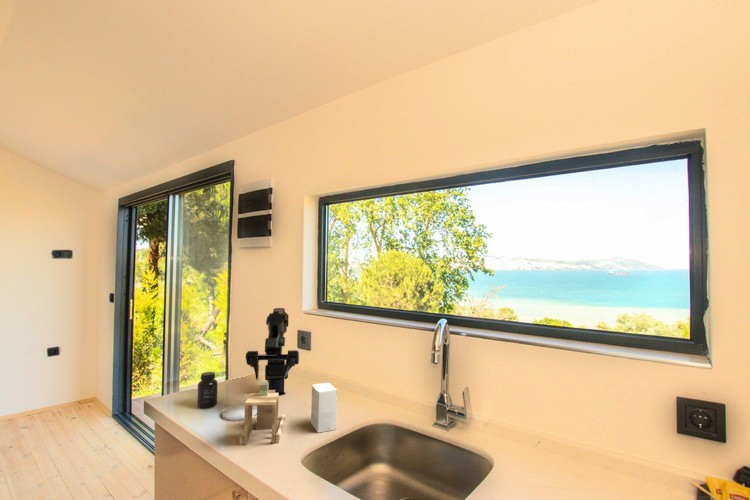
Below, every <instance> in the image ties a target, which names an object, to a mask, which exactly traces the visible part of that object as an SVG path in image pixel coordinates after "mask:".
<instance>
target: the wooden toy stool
mask: <svg viewBox="0 0 750 500" xmlns="http://www.w3.org/2000/svg"><path fill="white" fill-rule="evenodd" d="M258 387H259V388H258V389H259V390H258V391H259V392H258V393H254V392H253V393H251V392H250V393H249V395H248V396H247V399H246V400H245V402H244V404H245V418H244V420H243V423H244V424H243V425H244V427H243V428H244V429H243V433H244V443H243V445H247V443H248V440H249V439H250V435H251V434H252V430H253V423H252V406H253V405H255V406H257V405H273V408H272V429H271V444H275V443H276V433H278V429H279V427H278V426H279V424H278V423H279V419H278V416H279V397H280V395H279V393H268V387H269V382H267V381H264V382H263V381H261V382H260V384H259V386H258Z"/></svg>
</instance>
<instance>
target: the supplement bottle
mask: <svg viewBox="0 0 750 500" xmlns="http://www.w3.org/2000/svg"><path fill="white" fill-rule="evenodd" d="M215 378H216V373H215V372H214V371H206V372H202V373H201V374H200V381H198V383H197V400H196V402H197V403H196V404H197V408H198V409H202V410H206V409H211V408H215V406H217V404H218V388H219V386H218V383H219V382H218V380H217V379H215Z"/></svg>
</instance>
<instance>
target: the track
mask: <svg viewBox="0 0 750 500" xmlns="http://www.w3.org/2000/svg"><path fill="white" fill-rule="evenodd" d="M285 418H286V414H282V415H281V416H279V415H278V420H280V422H279V424H278V426H279V427H278V431H277V432H276V438H275V444H280V443H279V442H280V440H281V439H280V438H281V436H282V431H283V427H284V423H285V420H286V419H285ZM254 421H257V416H252V424H254ZM242 445H244V432H243V433H242V434H240V435H239V446H242Z"/></svg>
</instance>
